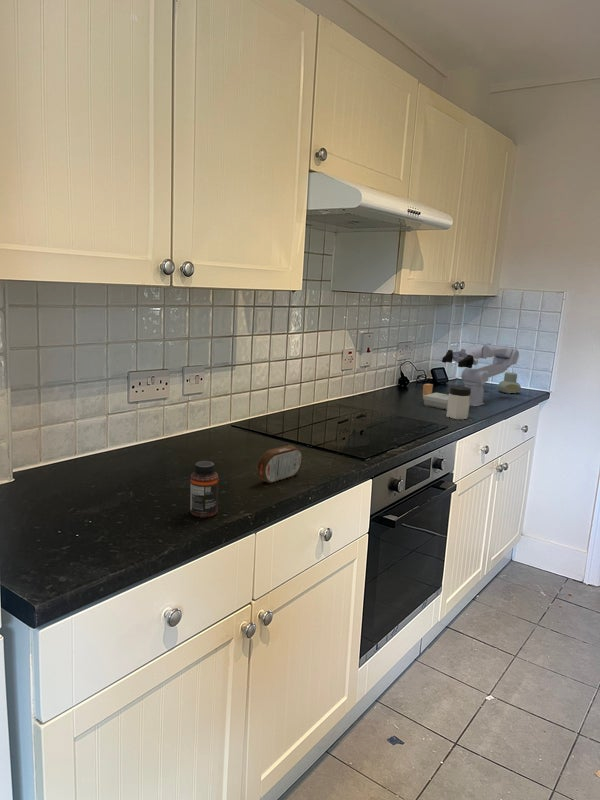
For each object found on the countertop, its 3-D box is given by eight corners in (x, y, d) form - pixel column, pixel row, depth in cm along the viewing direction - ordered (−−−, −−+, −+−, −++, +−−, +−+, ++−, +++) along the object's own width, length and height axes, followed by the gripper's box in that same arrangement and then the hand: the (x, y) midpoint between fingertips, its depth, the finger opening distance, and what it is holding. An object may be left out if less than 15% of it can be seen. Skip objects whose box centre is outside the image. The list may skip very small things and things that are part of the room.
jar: (465, 420, 236) (469, 390, 233) (444, 417, 239) (448, 388, 236) (469, 416, 244) (472, 387, 241) (448, 413, 247) (452, 384, 244)
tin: (295, 472, 163) (296, 441, 161) (303, 475, 161) (305, 444, 159) (255, 484, 152) (256, 452, 150) (264, 487, 150) (265, 454, 148)
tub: (434, 402, 268) (435, 394, 267) (468, 409, 258) (469, 401, 257) (423, 405, 261) (424, 397, 260) (458, 412, 251) (458, 404, 250)
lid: (430, 395, 270) (432, 382, 269) (470, 402, 258) (472, 389, 257) (418, 398, 261) (419, 385, 260) (458, 406, 249) (460, 392, 248)
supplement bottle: (203, 505, 136) (205, 457, 133) (223, 513, 132) (224, 463, 130) (184, 513, 131) (185, 463, 129) (203, 520, 127) (205, 469, 125)
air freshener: (500, 393, 300) (503, 374, 298) (495, 390, 308) (497, 371, 306) (522, 395, 300) (524, 375, 298) (516, 391, 308) (518, 372, 306)
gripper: (455, 342, 263) (437, 349, 254) (484, 350, 253) (467, 357, 245) (453, 358, 266) (435, 364, 257) (482, 366, 256) (465, 373, 247)
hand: (450, 362), depth 251 cm, fingers open, 7 cm apart
